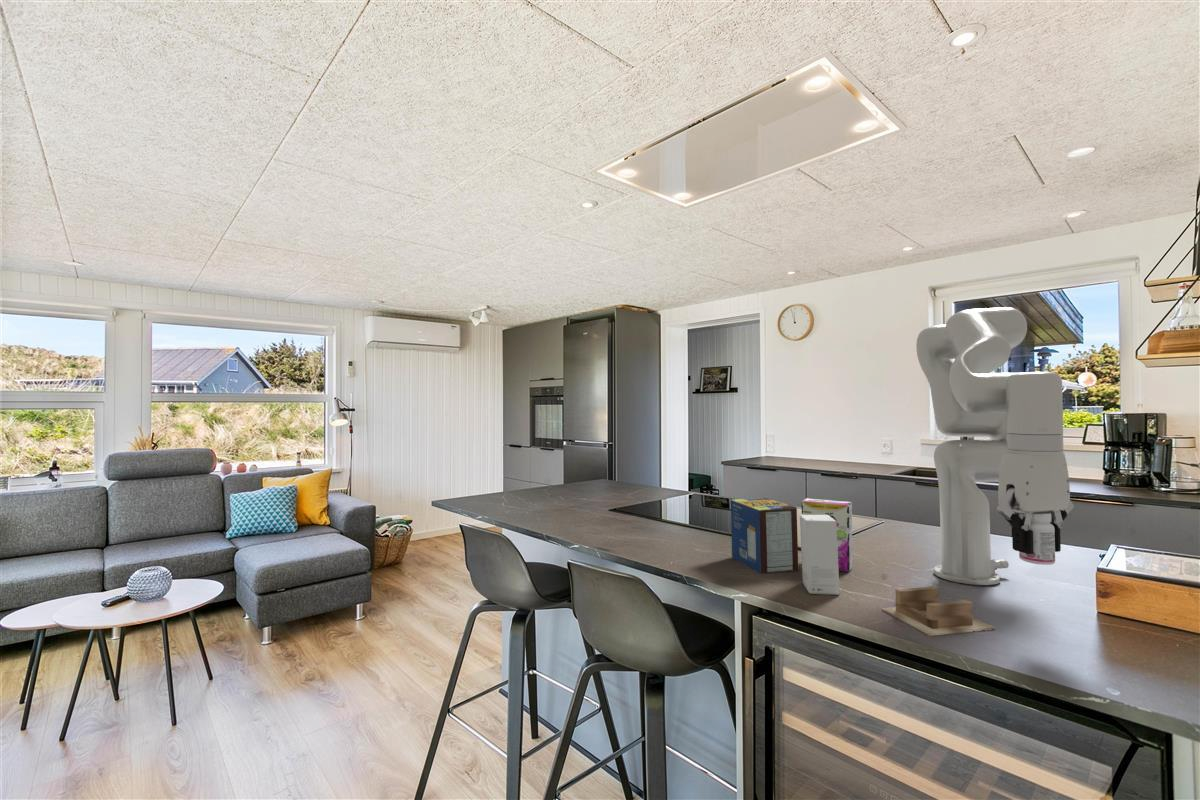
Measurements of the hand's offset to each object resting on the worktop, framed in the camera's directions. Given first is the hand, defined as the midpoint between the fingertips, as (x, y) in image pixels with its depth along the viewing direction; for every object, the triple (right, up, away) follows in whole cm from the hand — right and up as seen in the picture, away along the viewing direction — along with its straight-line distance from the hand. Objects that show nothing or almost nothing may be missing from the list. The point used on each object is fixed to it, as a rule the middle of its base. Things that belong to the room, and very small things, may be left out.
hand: (1036, 549), depth 91 cm
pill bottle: (0, -2, 0) cm, 2 cm away
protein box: (-33, -16, +45) cm, 58 cm away
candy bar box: (-18, -16, +41) cm, 48 cm away
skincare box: (-27, -16, +26) cm, 40 cm away
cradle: (-12, -15, +8) cm, 21 cm away
